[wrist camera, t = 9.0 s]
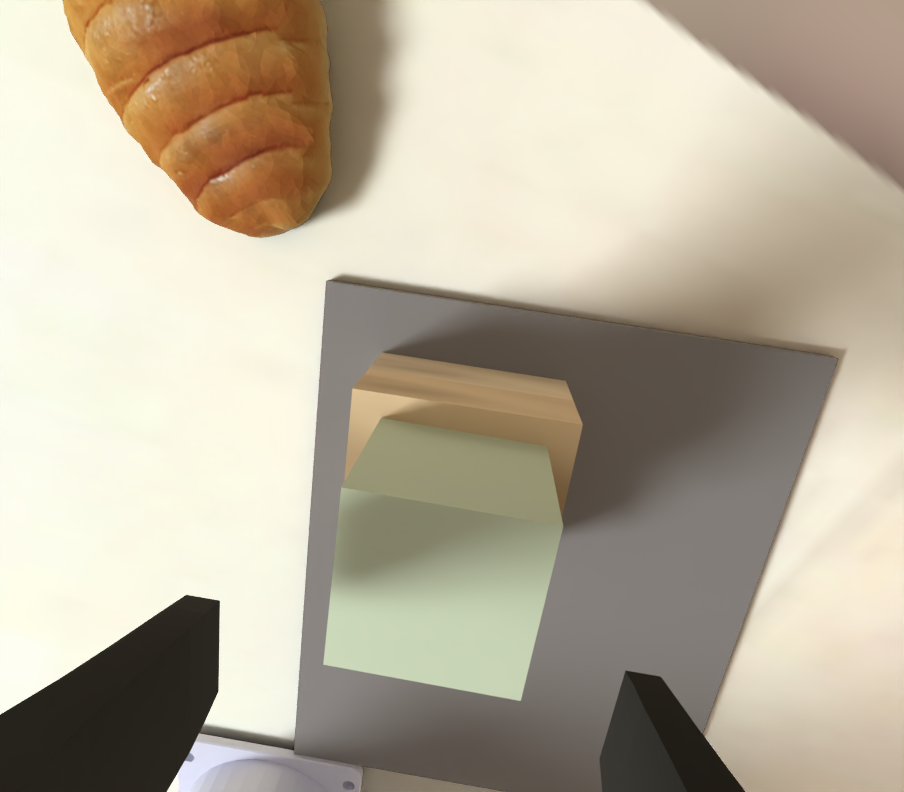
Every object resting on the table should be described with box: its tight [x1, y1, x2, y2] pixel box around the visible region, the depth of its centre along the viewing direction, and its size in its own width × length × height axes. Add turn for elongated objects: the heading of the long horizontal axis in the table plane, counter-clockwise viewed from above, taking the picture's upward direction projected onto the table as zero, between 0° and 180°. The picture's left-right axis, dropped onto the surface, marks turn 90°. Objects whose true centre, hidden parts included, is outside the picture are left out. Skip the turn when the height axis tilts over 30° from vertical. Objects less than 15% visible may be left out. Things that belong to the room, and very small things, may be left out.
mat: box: [294, 280, 838, 792], centre depth 21 cm, size 20×16×1 cm
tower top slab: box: [344, 368, 583, 517], centre depth 17 cm, size 6×6×2 cm
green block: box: [323, 418, 563, 701], centre depth 14 cm, size 4×4×4 cm
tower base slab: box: [370, 352, 573, 400], centre depth 19 cm, size 6×6×2 cm
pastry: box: [63, 0, 333, 238], centre depth 15 cm, size 9×7×4 cm
